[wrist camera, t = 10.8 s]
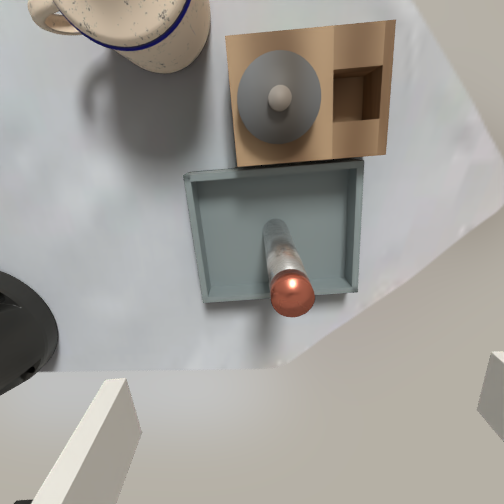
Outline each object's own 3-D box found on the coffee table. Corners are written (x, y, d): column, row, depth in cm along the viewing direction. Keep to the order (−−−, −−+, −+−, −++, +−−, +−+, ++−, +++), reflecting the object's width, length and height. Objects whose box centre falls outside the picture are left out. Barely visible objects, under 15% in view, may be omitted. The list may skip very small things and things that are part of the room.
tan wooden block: (239, 162, 29) (235, 169, 22) (230, 54, 26) (222, 24, 19) (364, 152, 29) (399, 156, 22) (369, 41, 25) (412, 5, 19)
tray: (207, 289, 34) (203, 302, 31) (189, 172, 29) (183, 175, 26) (348, 279, 33) (357, 292, 31) (353, 158, 29) (364, 160, 26)
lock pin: (263, 243, 31) (272, 318, 18) (262, 219, 30) (269, 280, 17) (288, 242, 31) (314, 315, 18) (287, 218, 30) (314, 277, 17)
